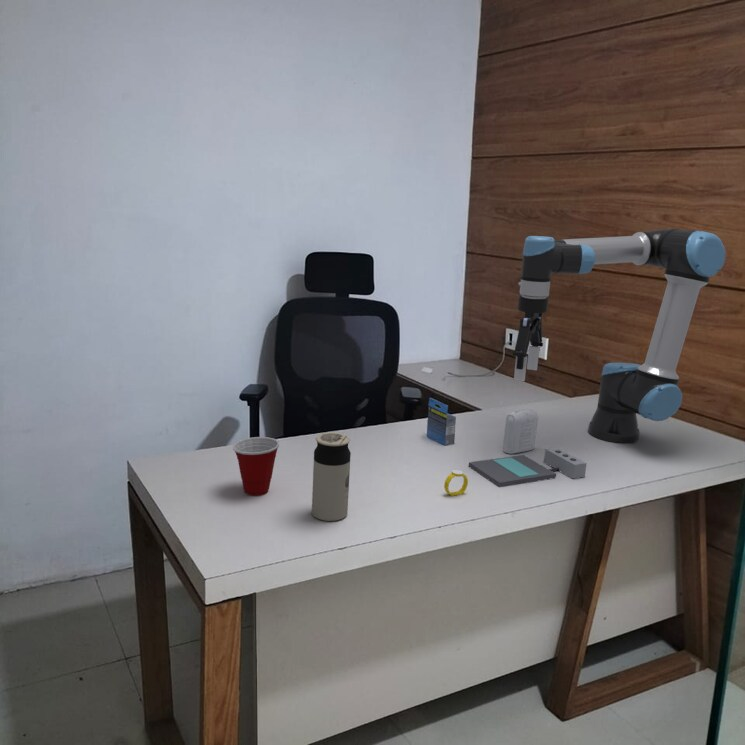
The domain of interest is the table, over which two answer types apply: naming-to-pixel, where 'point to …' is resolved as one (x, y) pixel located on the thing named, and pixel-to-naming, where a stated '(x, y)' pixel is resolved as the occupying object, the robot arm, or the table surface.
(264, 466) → the plastic cup
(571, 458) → the power strip
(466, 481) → the watch
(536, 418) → the photo printer
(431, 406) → the label tape box
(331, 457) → the travel mug
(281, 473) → the table surface
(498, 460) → the pad
